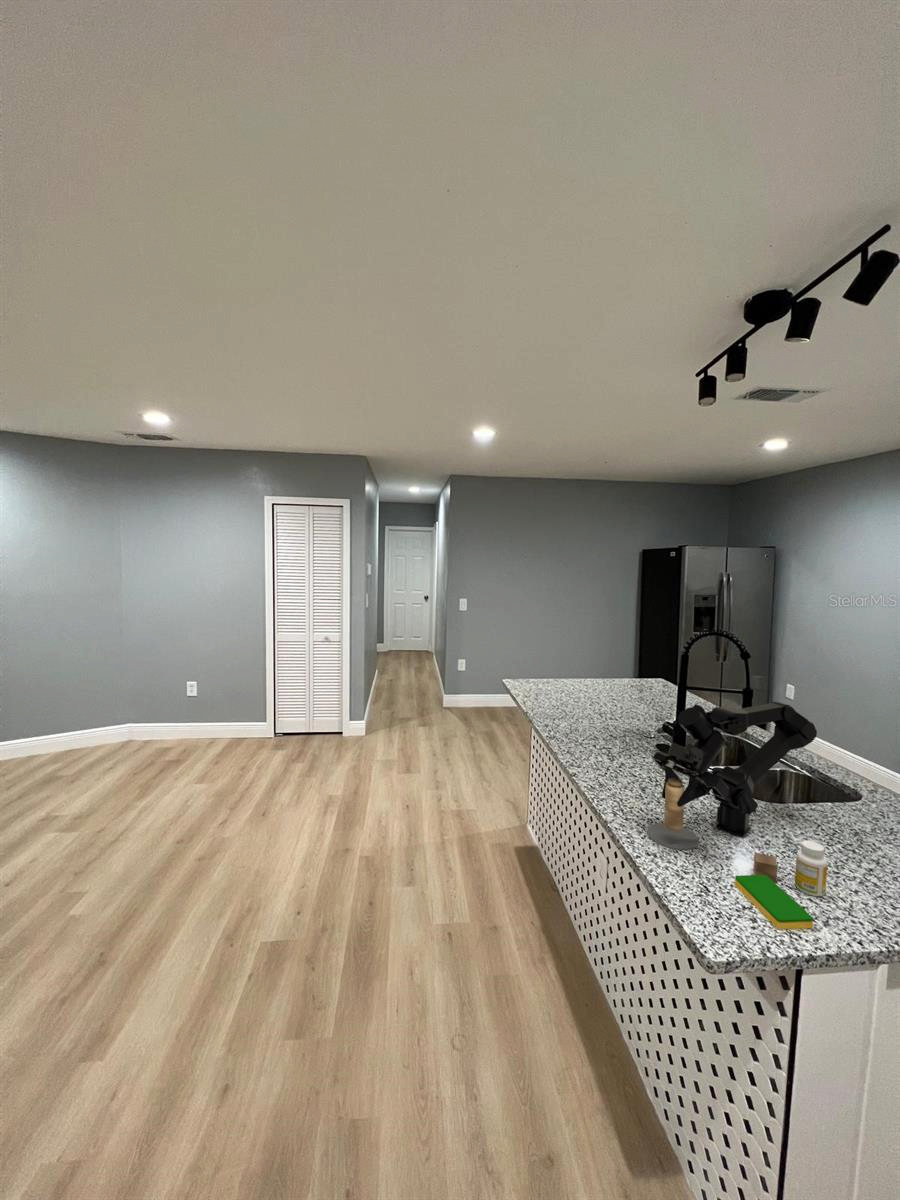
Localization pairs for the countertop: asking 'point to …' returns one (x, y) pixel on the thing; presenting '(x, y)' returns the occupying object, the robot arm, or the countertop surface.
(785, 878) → the countertop surface
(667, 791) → the brown cylinder
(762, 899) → the dish sponge
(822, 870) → the supplement bottle
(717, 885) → the countertop surface
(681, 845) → the slate coaster
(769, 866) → the walnut block
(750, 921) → the countertop surface
